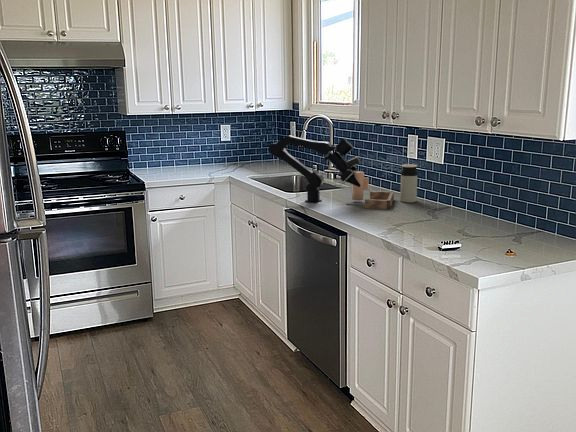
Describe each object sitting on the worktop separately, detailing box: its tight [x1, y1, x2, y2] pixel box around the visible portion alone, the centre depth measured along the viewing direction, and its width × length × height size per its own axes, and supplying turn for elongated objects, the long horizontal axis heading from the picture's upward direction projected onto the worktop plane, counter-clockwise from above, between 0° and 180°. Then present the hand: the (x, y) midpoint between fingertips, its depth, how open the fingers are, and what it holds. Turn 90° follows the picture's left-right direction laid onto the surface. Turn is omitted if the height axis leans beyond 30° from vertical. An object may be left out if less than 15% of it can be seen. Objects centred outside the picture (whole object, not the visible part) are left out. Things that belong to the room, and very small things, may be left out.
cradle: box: [364, 190, 395, 210], centre depth 277 cm, size 12×23×4 cm, turn 165°
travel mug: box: [399, 163, 419, 204], centre depth 280 cm, size 8×8×18 cm
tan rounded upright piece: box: [351, 170, 370, 200], centre depth 278 cm, size 8×6×14 cm
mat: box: [346, 199, 365, 206], centre depth 280 cm, size 10×10×1 cm
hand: (360, 185), depth 278 cm, fingers closed on tan rounded upright piece, 5 cm apart
